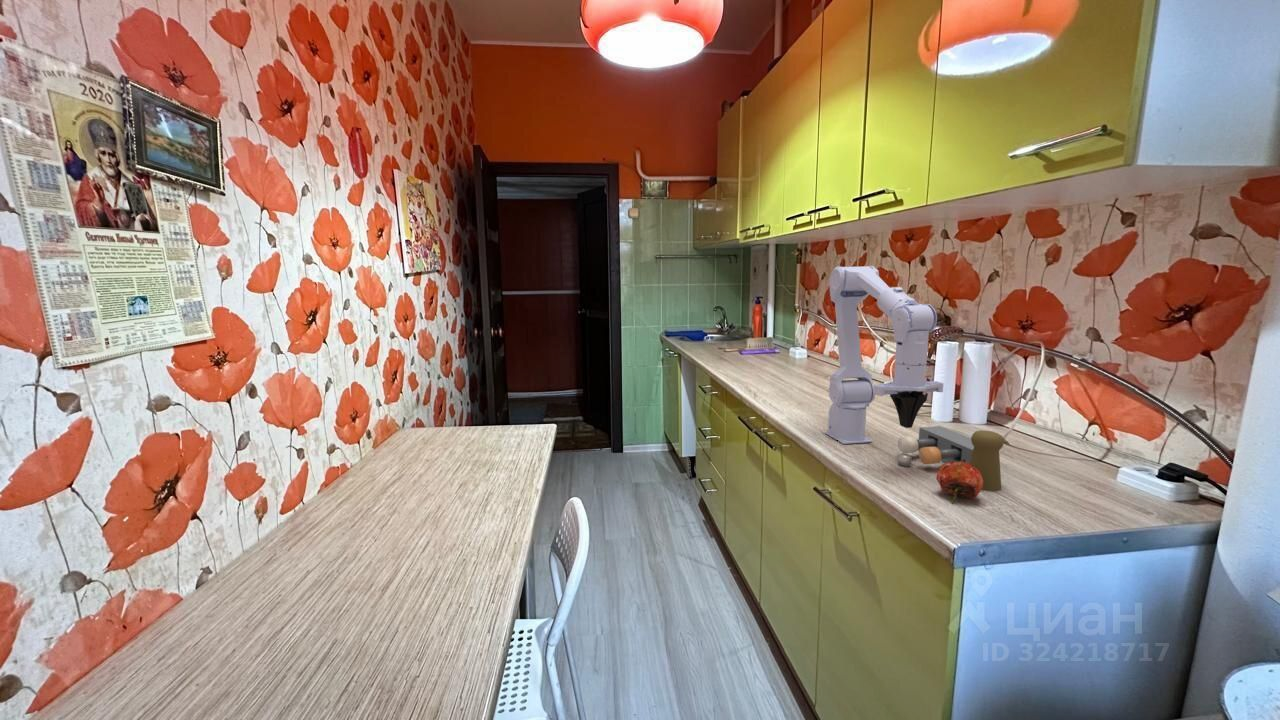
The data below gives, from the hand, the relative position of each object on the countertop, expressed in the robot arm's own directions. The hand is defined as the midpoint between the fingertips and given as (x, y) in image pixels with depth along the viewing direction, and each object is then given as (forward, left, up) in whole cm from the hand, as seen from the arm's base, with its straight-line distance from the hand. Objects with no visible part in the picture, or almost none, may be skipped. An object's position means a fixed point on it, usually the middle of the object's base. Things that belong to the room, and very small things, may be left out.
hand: (905, 426), depth 104 cm
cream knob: (-7, +10, -9) cm, 15 cm away
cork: (+9, +11, -10) cm, 18 cm away
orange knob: (0, +10, -9) cm, 13 cm away
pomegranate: (+13, +2, -10) cm, 17 cm away
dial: (-4, +3, -10) cm, 11 cm away
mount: (-4, +15, -10) cm, 19 cm away
